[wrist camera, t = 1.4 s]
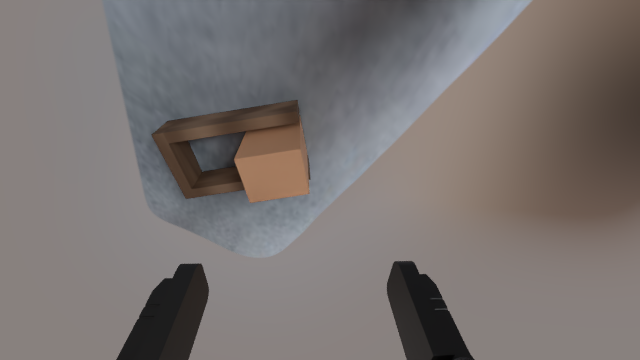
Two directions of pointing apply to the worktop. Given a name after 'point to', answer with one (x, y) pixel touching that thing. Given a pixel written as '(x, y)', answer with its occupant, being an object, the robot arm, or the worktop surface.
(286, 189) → the block
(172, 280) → the robot arm
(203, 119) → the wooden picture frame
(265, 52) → the worktop surface
